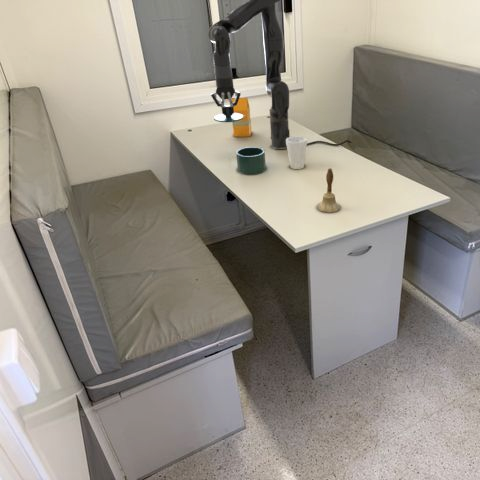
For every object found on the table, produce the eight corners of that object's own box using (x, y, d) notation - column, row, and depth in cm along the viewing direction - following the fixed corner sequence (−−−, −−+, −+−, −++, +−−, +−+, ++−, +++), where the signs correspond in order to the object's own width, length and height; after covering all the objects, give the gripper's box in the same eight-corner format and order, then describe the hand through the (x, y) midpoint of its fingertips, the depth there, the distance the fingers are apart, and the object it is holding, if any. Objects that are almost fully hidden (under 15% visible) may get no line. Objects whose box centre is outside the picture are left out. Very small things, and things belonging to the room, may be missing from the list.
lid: (242, 114, 208) (241, 101, 205) (244, 122, 197) (243, 108, 193) (214, 116, 206) (212, 103, 202) (214, 124, 194) (212, 110, 191)
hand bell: (338, 202, 169) (339, 164, 161) (340, 212, 162) (341, 173, 154) (317, 203, 169) (317, 164, 160) (318, 212, 162) (318, 173, 153)
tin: (264, 163, 205) (262, 146, 200) (267, 173, 194) (265, 155, 190) (237, 165, 202) (235, 148, 198) (238, 175, 192) (236, 157, 187)
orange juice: (249, 136, 239) (246, 99, 228) (233, 136, 239) (229, 99, 229) (251, 132, 246) (248, 96, 235) (236, 132, 246) (232, 96, 235)
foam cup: (310, 164, 203) (310, 137, 196) (301, 171, 196) (301, 144, 189) (292, 161, 206) (291, 135, 200) (283, 168, 199) (282, 141, 193)
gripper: (239, 73, 195) (243, 111, 204) (207, 75, 193) (213, 113, 202) (240, 76, 189) (243, 116, 198) (207, 78, 186) (213, 118, 196)
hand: (228, 114), depth 200 cm, fingers closed on lid, 2 cm apart
